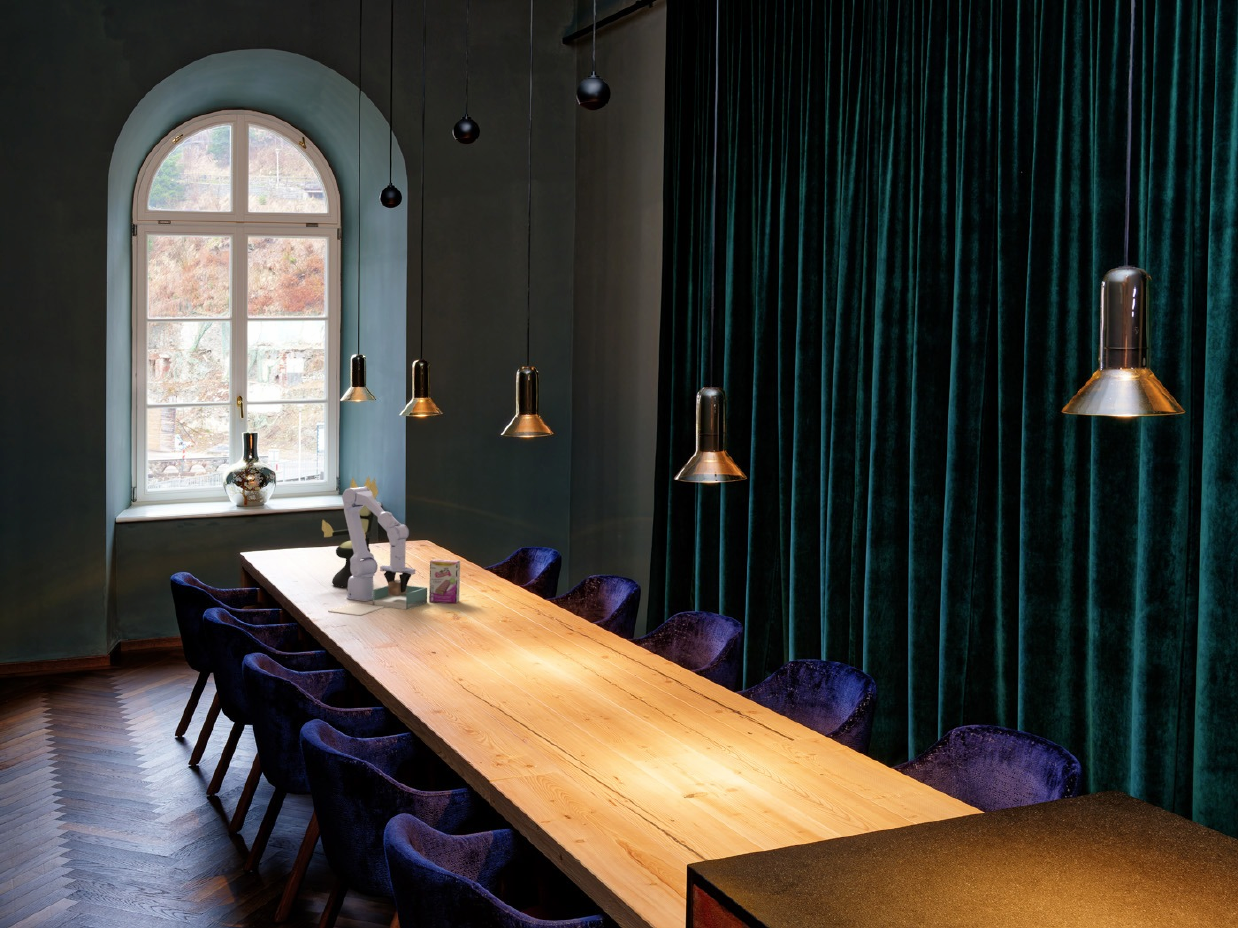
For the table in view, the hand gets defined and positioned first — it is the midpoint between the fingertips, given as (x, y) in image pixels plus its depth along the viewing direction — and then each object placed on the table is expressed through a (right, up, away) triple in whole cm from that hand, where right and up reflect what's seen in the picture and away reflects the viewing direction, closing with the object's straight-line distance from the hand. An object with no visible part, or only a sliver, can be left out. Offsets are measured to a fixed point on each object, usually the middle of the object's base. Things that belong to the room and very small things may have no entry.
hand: (397, 591), depth 459 cm
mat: (-14, -6, -10) cm, 18 cm away
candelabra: (-25, -1, +39) cm, 46 cm away
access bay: (+1, -5, +3) cm, 6 cm away
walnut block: (0, -1, 0) cm, 1 cm away
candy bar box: (+17, -5, +9) cm, 20 cm away
